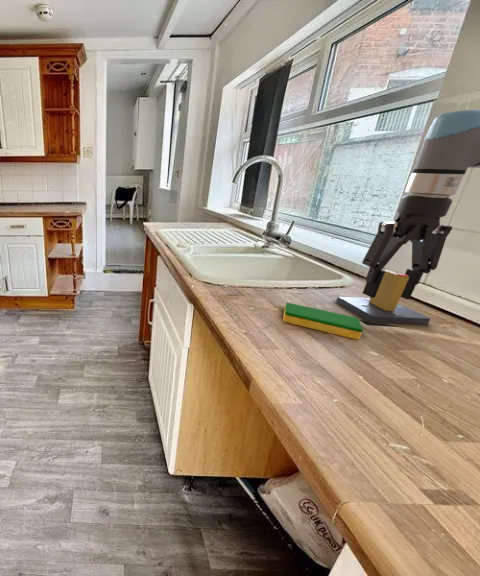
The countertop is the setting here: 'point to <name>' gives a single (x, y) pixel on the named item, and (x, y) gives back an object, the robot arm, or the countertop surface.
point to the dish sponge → (323, 320)
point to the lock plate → (381, 313)
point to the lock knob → (390, 290)
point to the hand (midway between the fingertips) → (385, 296)
